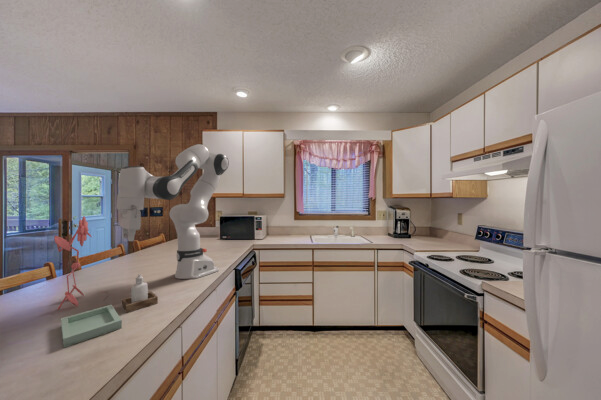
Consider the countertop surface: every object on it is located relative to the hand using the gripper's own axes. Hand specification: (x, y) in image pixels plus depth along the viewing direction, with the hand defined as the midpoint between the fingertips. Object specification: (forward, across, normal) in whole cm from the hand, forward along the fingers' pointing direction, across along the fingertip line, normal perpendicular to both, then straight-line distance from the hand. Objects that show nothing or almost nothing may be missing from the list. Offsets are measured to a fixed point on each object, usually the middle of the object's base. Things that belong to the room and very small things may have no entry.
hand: (128, 239), depth 92 cm
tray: (+26, -13, +11) cm, 31 cm away
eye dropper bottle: (+25, -6, -4) cm, 26 cm away
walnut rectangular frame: (+25, -6, -4) cm, 26 cm away
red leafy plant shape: (+27, +16, +10) cm, 33 cm away
